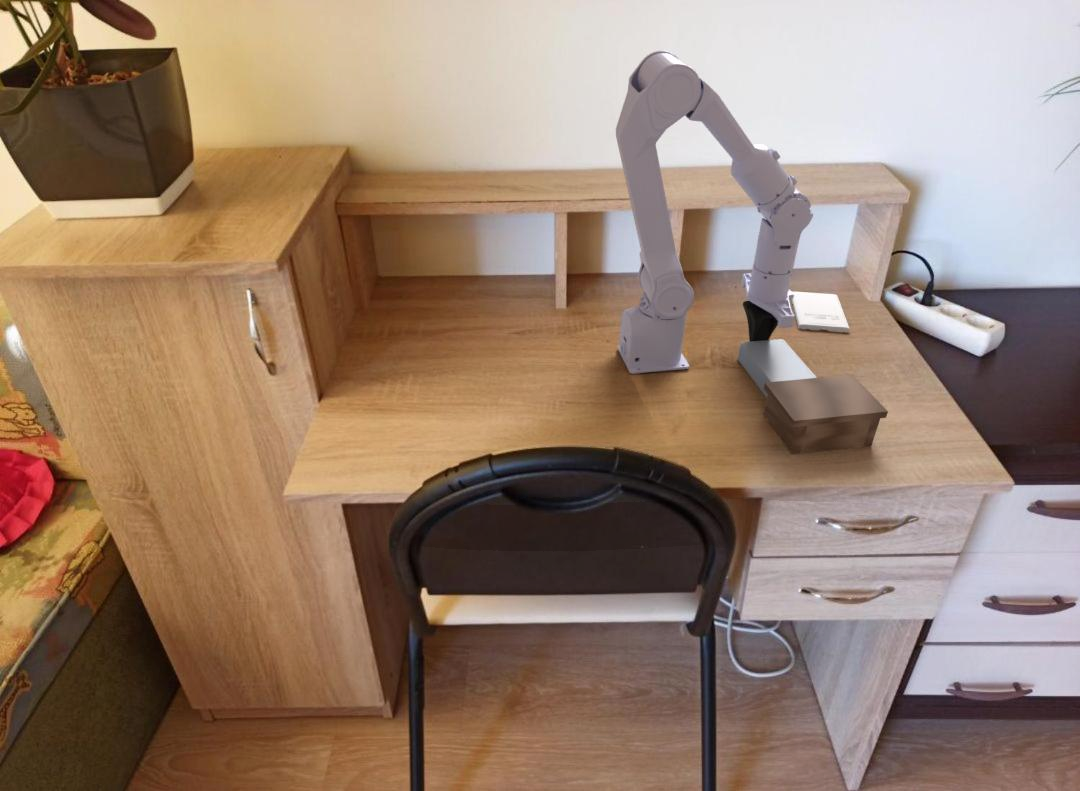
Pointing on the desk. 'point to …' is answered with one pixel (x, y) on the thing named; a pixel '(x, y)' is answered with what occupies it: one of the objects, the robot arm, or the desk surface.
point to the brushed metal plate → (772, 362)
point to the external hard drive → (819, 312)
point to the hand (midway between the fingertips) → (757, 346)
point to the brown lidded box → (822, 413)
